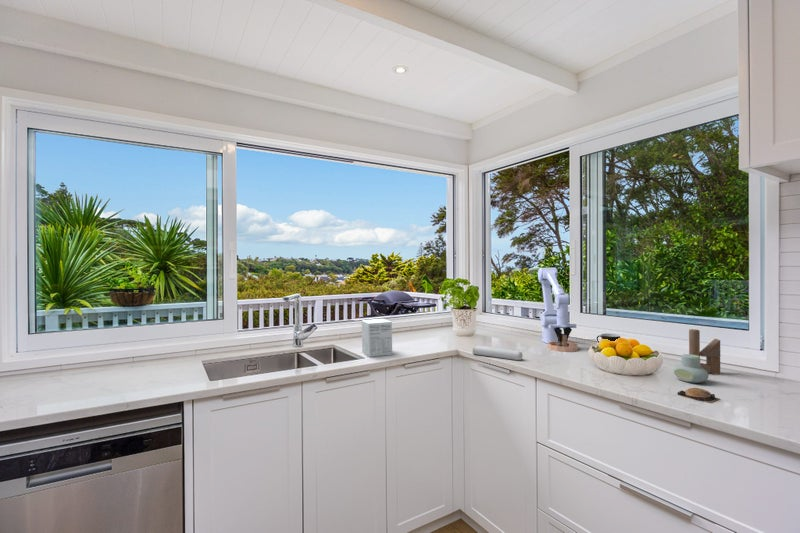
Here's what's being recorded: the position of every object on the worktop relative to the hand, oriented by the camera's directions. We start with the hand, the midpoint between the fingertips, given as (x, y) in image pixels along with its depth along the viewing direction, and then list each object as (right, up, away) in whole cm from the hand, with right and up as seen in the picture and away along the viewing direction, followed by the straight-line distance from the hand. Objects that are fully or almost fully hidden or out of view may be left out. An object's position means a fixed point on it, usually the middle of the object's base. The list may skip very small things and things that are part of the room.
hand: (562, 341), depth 214 cm
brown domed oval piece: (+15, -5, -77) cm, 79 cm away
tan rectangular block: (0, -3, 0) cm, 3 cm away
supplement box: (-101, -6, -4) cm, 101 cm away
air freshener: (+26, -4, -60) cm, 65 cm away
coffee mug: (+18, -4, -14) cm, 23 cm away
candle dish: (0, -4, 0) cm, 4 cm away
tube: (-40, -5, -17) cm, 43 cm away
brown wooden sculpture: (+39, -4, -49) cm, 63 cm away
